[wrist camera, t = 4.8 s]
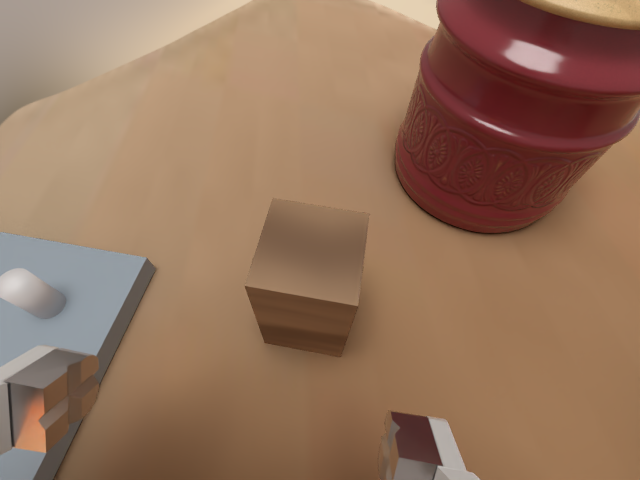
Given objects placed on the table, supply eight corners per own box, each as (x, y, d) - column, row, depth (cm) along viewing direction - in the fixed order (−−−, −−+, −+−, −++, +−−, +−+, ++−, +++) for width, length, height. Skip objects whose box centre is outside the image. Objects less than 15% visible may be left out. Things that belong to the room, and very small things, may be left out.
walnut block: (340, 357, 20) (358, 306, 13) (265, 342, 20) (244, 285, 13) (350, 287, 22) (369, 213, 16) (282, 275, 23) (272, 198, 16)
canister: (379, 121, 31) (446, -187, 16) (515, 118, 32) (697, -175, 17) (409, 242, 24) (574, -97, 9) (582, 234, 25) (982, -87, 10)
